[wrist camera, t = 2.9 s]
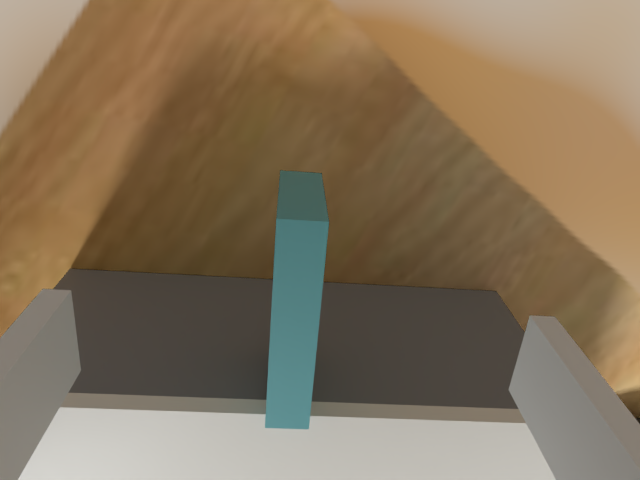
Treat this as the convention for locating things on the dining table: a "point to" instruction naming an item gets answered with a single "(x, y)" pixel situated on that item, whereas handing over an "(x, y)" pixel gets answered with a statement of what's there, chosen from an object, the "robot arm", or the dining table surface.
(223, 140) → the dining table surface
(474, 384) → the carton
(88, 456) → the carton lid
